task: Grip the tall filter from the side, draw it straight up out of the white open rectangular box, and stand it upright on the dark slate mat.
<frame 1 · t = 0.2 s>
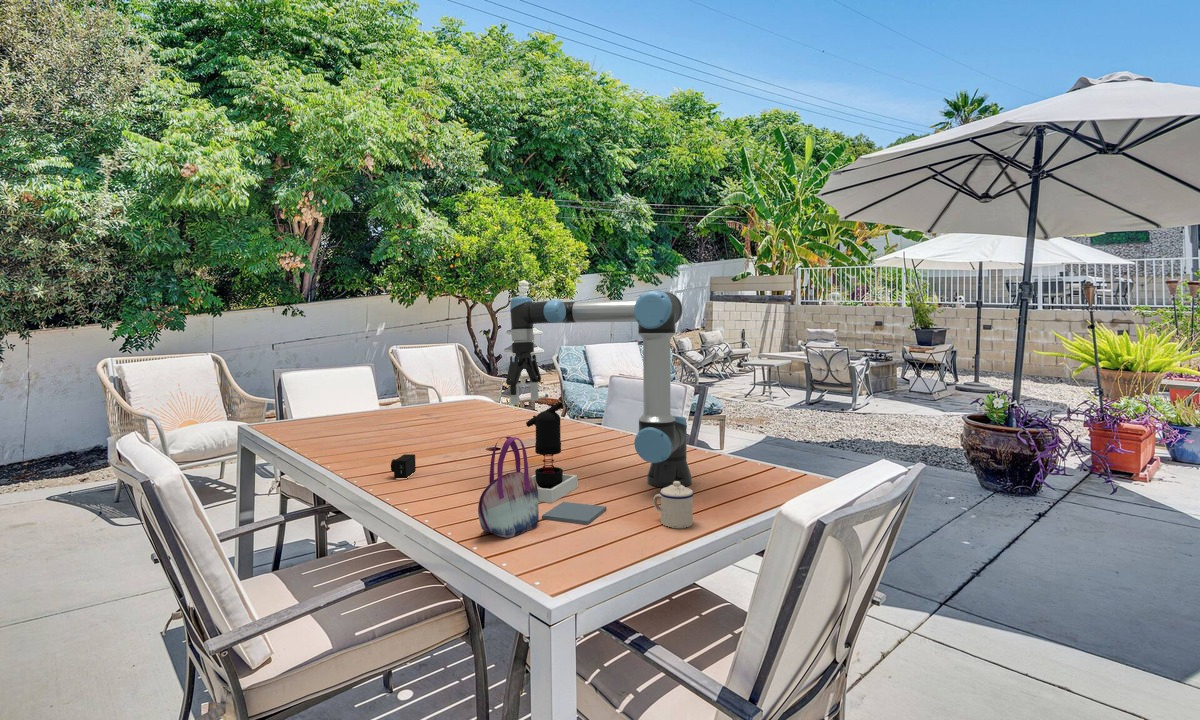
hand: (525, 402, 215), 27 cm above the table, tool pointing down, fingers open, 13 cm apart
teacup with lid: (672, 523, 170), on the table
filter: (545, 493, 200), resting in white open rectangular box
digital camera: (403, 476, 223), on the table
slate mat: (574, 514, 178), on the table
white open rectangular box: (545, 492, 200), on the table
handbag: (510, 530, 166), on the table
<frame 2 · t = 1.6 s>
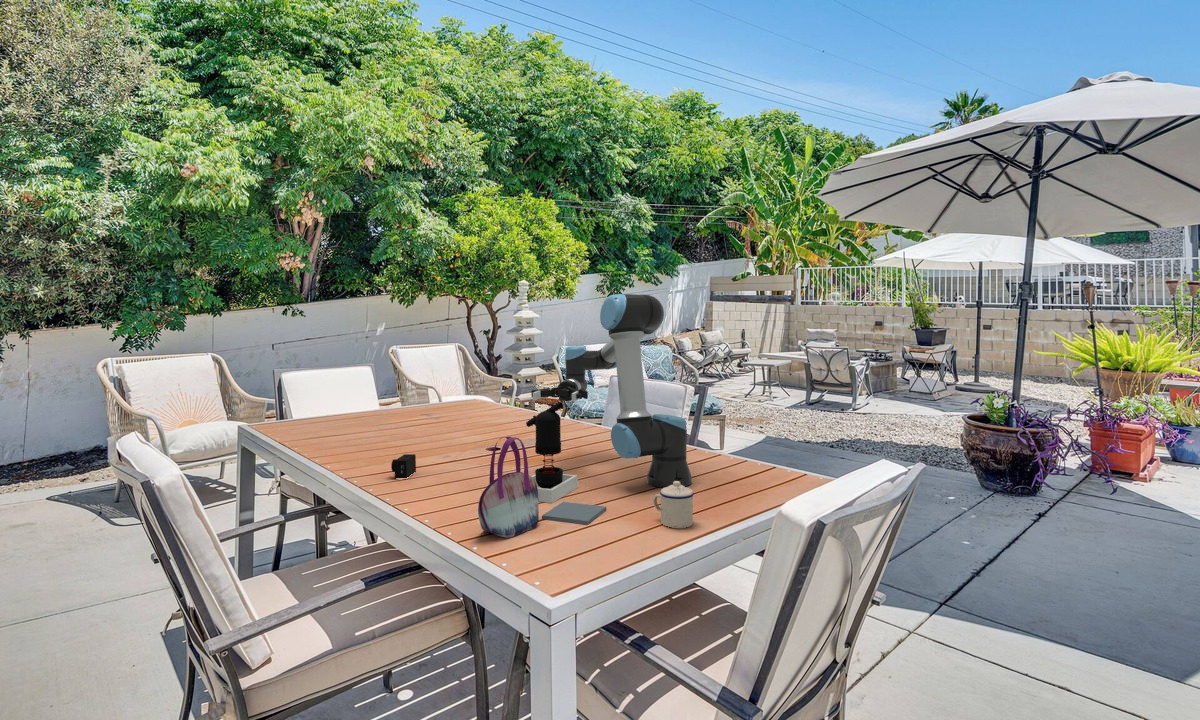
hand: (553, 397, 208), 30 cm above the table, tool horizontal, fingers open, 13 cm apart
nothing on the table moved.
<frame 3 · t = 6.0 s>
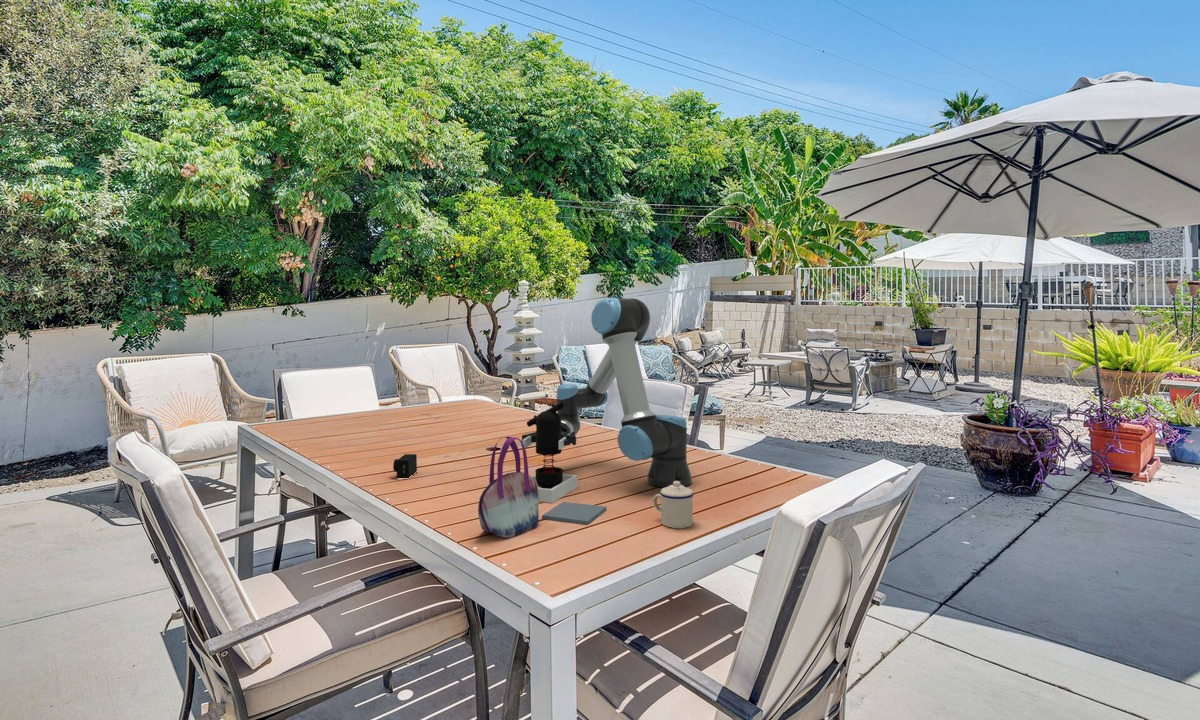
hand: (541, 444, 195), 17 cm above the table, tool horizontal, fingers closed on filter, 11 cm apart
filter: (545, 493, 200), resting in white open rectangular box, touching gripper
when the fingers open (19 cm above the table, at t = 12.6 s): filter drops 1 cm, resting on slate mat.
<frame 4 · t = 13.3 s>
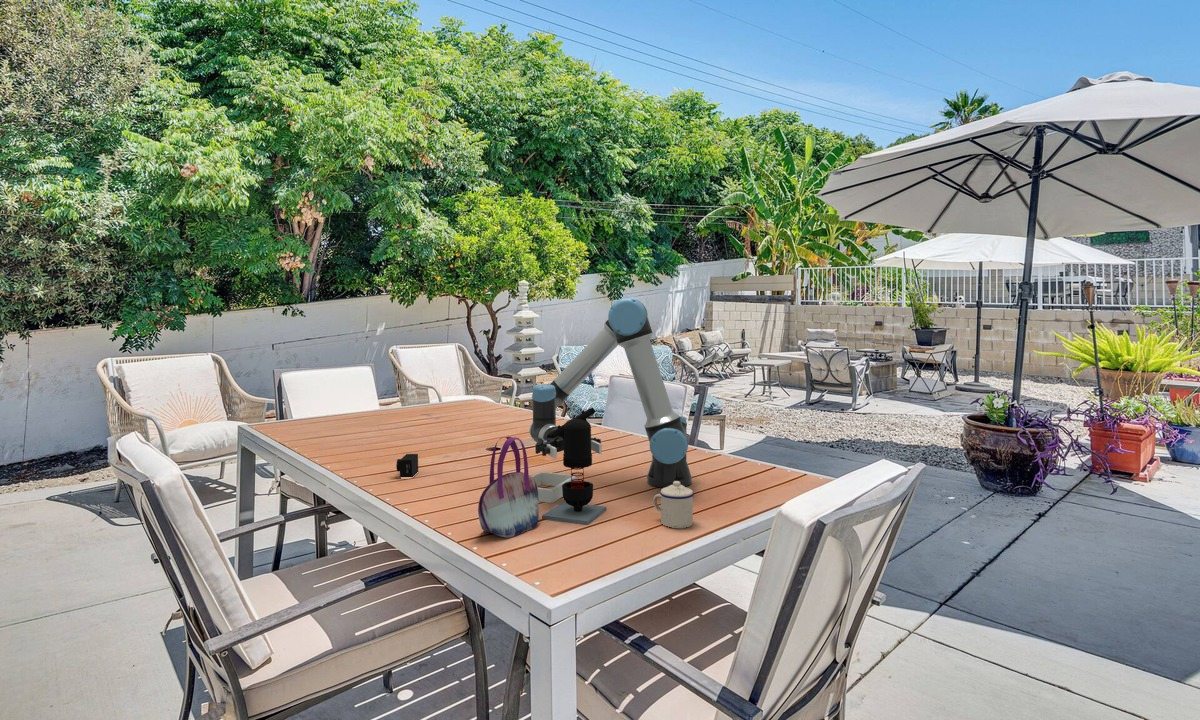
hand: (578, 451, 174), 19 cm above the table, tool horizontal, fingers open, 13 cm apart
filter: (573, 511, 178), point 1 cm above the table, touching slate mat
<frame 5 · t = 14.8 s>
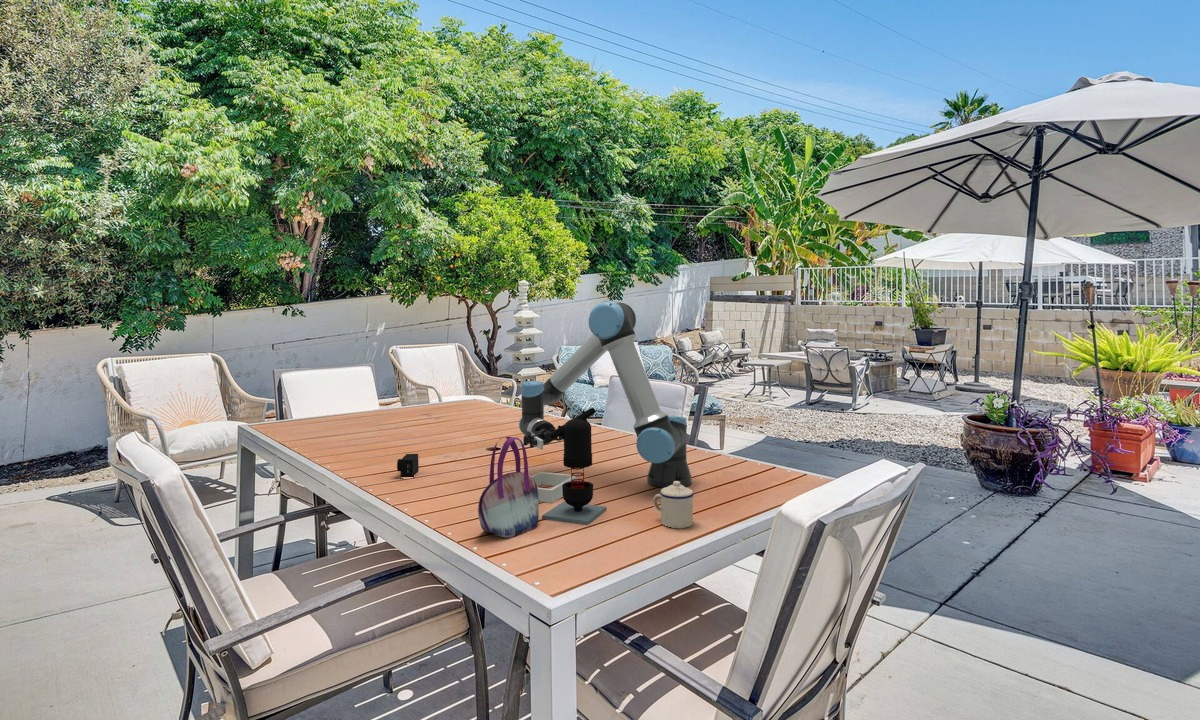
hand: (563, 443, 185), 19 cm above the table, tool horizontal, fingers open, 13 cm apart
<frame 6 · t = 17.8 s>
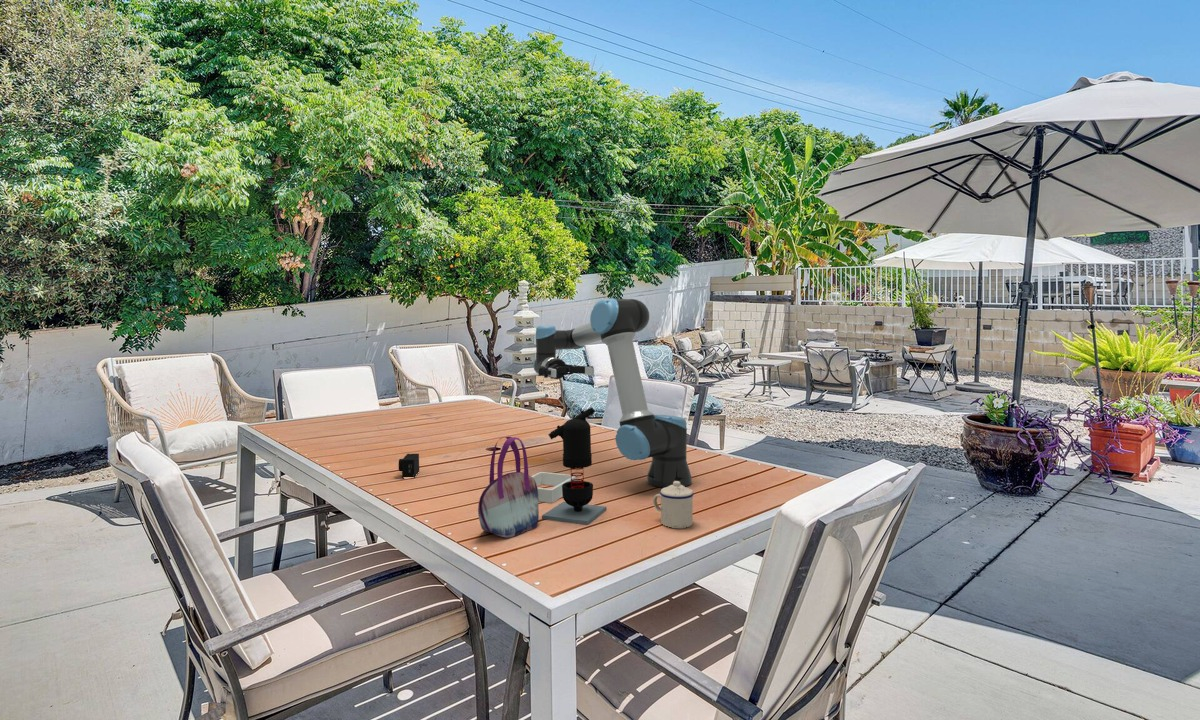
hand: (574, 372, 209), 38 cm above the table, tool horizontal, fingers open, 13 cm apart
at the end: filter inside the target area on the slate mat (0.3 cm from its centre), point 0.8 cm above the slate mat's base; filter tilted 0°; the gripper is holding nothing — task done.
